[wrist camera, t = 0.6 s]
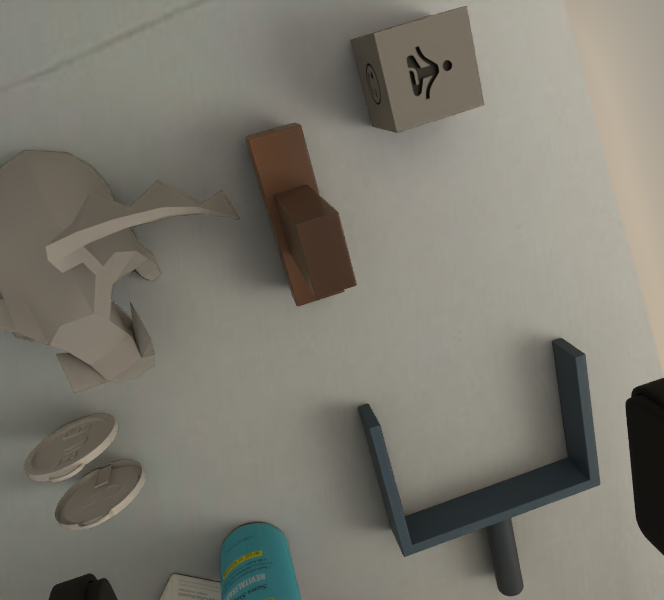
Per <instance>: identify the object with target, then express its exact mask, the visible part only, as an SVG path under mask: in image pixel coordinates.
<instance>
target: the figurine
mask: <svg viewBox="0 0 664 600" xmlns="http://www.w3.org/2000/svg"><path fill="white" fill-rule="evenodd" d="M193 214H209V215H215V216H220V217H226V218H231V219H236V220H239V219H240V217H239V216H238V214H237V213H236V211H235V210H234V208H233V207H232V205H231V204H230V202H229V201H228V199H227V198H226V196H225V195H224V194H223V192H222V191H220V192H218V193H217V194H215V195H214V196H212V197H211V198H209V199H208V200H207V201H205V202H204V203H202V204H200V203H198V202H196V201H195V200H193V199H191V198H189V197H187V196H186V195H184V194H182V193H180V192H178V191H177V190H175V189H173V188H171V187H169V186H168V185H166V184H164V183H162V182H160V181H159V180H157V181H156V182H155V183H154V184H153V185H152V186H151V187H150V188H149V189H148V190H147V191H146V192H145V193H144V194H143V195H142V196H141V197H140V198H139V199H138V200H137V201H135V202H134V203H133V204H132V205H131V206H130V207H128V206H126V205H123V204H120V203H118V202H115V201H114V199H113V194H112V190H111V189H110V188H109V187H108V185H107V184H106V183H105V182H104V181H103V179H102V178H101V177H100V176H99V174H98V173H97V172H96V171H95V170H94V168H93V167H92V166H90V165H88V164H87V163H85V162H83V161H81V160H79V159H78V158H76V157H74V156H72V155H70V154H68V153H67V152H45V151H22V152H21V153H20V154H18V155H17V156H16V157H14V158H13V159H12V160H10V161H9V162H7V163H6V164H5V165H3V166H2V167H0V330H5V331H11V332H12V333H13V335H14V336H15V337H18V338H21V339H24V340H27V341H30V342H33V341H34V340H37V341H39V342H41V343H44V344H46V345H49V346H52V347H55V348H58V349H61V350H64V351H67V352H69V353H62V354H56V355H57V357H58V360H59V362H60V364H61V366H62V368H63V370H64V372H65V374H66V376H67V378H68V380H69V382H70V384H71V386H72V388H73V390H74V393H76V392H79V391H82V390H85V389H88V388H91V387H94V386H97V385H100V384H103V383H106V382H115V383H116V382H121V381H126V380H131V379H136V378H138V377H139V376H140V375H141V374H142V373H143V372H144V371H145V370H148V369H150V368H152V367H154V361H155V353H154V349H153V345H152V342H151V341H150V340H151V338H150V336H149V335H148V333H147V331H146V329H145V327H144V325H143V324H142V322H141V320H140V318H139V316H138V315H137V313H136V311H135V309H134V307H133V306H132V304H131V302H130V305H131V313H132V317H131V316H130V315H129V314H128V313H127V312H126V311H124V310H123V309H122V308H120V307H119V306H118V305H116V304H115V303H114V302H112V301H111V295H112V286H113V285H114V283H116V282H117V281H119V280H120V279H121V278H123V277H124V276H126V275H127V274H129V273H130V272H131V271H133V270H134V269H135V270H136V271H137V272H138V273H139V274H140V275H141V276H142V277H143V278H145V279H148V280H152V281H153V280H154V279H155V278H157V277H158V276H160V275H161V273H160V270H159V268H158V266H157V263H156V261H155V258H154V255H153V254H152V253H151V252H149V251H148V250H147V249H146V248H144V247H143V246H142V245H141V244H140V243H139V242H138V241H137V239H136V237H135V235H134V234H133V232H132V230H131V229H130V227H132V226H137V225H141V224H145V223H149V222H153V221H158V220H162V219H166V218H170V217H175V216H180V215H193Z"/></svg>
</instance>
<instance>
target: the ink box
mask: <svg viewBox="0 0 664 600" xmlns="http://www.w3.org/2000/svg"><path fill="white" fill-rule="evenodd" d="M160 600H221V583H220V582H214V581H209V580H204V579H198V578H193V577H188V576H182V575H177V574H173V575H172V576H171V577H170V579H169V582H168V583H167V585H166V587H165V590H164V592H163V594H162V596H161V598H160Z"/></svg>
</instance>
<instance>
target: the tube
mask: <svg viewBox="0 0 664 600" xmlns="http://www.w3.org/2000/svg"><path fill="white" fill-rule="evenodd" d="M220 563H221V600H301V596H300V592H299V588H298V584H297V580H296V576H295V571H294V567H293V563H292V559H291V555H290V551H289V547H288V543H287V540H286V537H285V535H284V534H283V533H282V532H281V531H280V530H279V529H278V528H277V527H274V526H272V525H270V524H267V523H252V524H247V525H244V526H241V527H238V528H237V529H236V530H234V531H233V532H232V533H231V534H229V536H228V537H227V538H226V539H225V541H224V543H223V545H222V548H221V561H220Z"/></svg>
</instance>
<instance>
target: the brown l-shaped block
mask: <svg viewBox="0 0 664 600" xmlns="http://www.w3.org/2000/svg"><path fill="white" fill-rule="evenodd" d="M245 139H246V143H247V146H248V149H249V153H250V156H251V159H252V163H253V166H254V169H255V173H256V176H257V180H258V183H259V186H260V190H261V193H262V196H263V200H264V203H265V206H266V210H267V213H268V216H269V220H270V223H271V226H272V230H273V233H274V236H275V240H276V243H277V246H278V250H279V253H280V256H281V260H282V263H283V266H284V270H285V273H286V277H287V280H288V283H289V287H290V290H291V293H292V296H293V298H294V301H295V303H296V305H297V306H301V305H304V304H307V303H310V302H313V301H316V300H320V299H323V298H326V297H329V296H332V295H335V294H338V293H341V292H344V291H345V290H344V289H347V288H350V287H353V286H356V285H357V284H356V280H355V276H354V272H353V268H352V264H351V260H350V256H349V252H348V249H347V245H346V241H345V237H344V233H343V229H342V225H341V221H340V217H339V213H338V212H337V211H336V210H335V209H334V208H333V207H332V206H331V205H330V204H328V203H327V202H326V201H325V200H324V199H323V198H322V197H321V196H320V195H319V192H318V188H317V184H316V180H315V176H314V173H313V169H312V165H311V161H310V158H309V154H308V150H307V146H306V142H305V139H304V135H303V131H302V127H301V125H299V124H297V123H292V124H288V125H285V126H281V127H278V128H274V129H271V130H267V131H264V132H260V133H257V134H253V135H250V136H246V137H245Z"/></svg>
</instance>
